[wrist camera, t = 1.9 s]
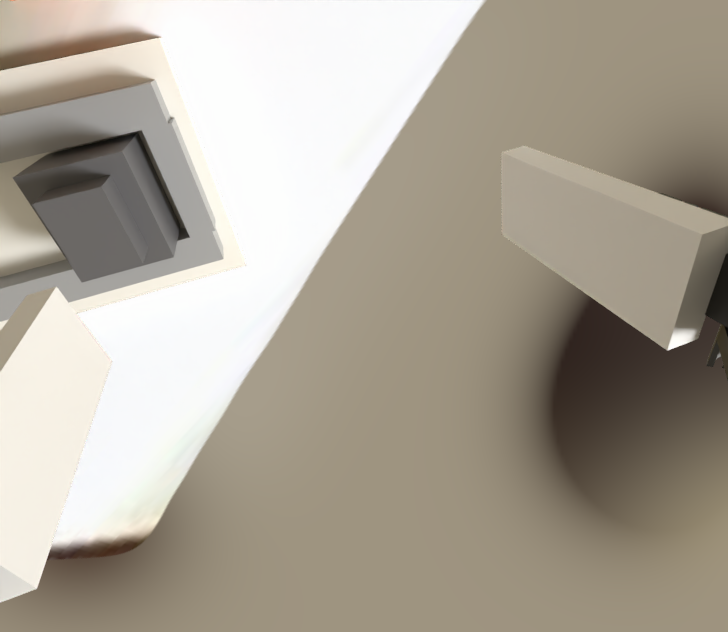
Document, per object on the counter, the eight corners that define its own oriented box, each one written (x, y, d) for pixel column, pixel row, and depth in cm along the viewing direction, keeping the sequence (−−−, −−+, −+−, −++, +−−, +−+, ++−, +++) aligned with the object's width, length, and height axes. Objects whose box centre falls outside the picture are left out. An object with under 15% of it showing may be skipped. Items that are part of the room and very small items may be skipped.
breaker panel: (-103, 354, 29) (-138, 388, 26) (-335, 141, 21) (-423, 157, 18) (245, 256, 32) (247, 277, 29) (162, 37, 24) (154, 37, 21)
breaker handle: (102, 246, 27) (71, 301, 21) (47, 153, 24) (-6, 190, 18) (180, 225, 28) (170, 273, 22) (138, 132, 24) (113, 161, 19)
